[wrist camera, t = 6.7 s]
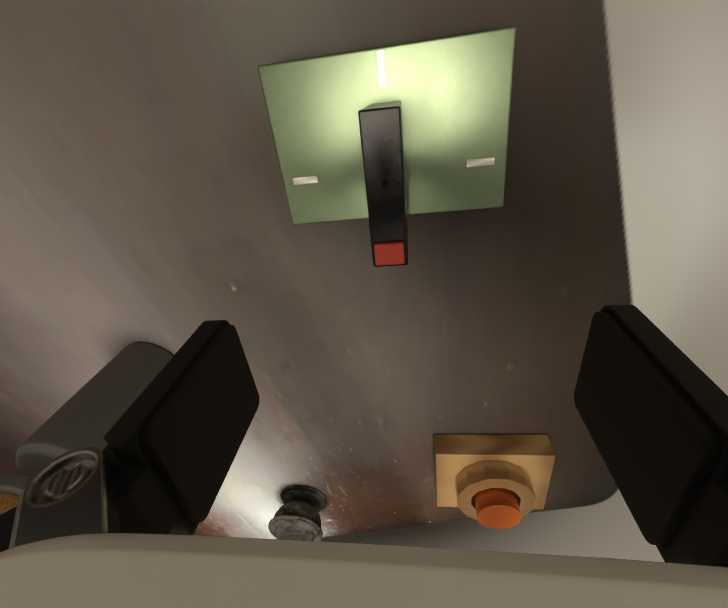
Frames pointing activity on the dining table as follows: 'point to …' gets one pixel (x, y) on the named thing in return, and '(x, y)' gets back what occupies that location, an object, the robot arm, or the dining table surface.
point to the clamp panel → (420, 123)
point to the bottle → (85, 415)
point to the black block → (385, 181)
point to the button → (497, 508)
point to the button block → (492, 469)
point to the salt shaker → (298, 514)
